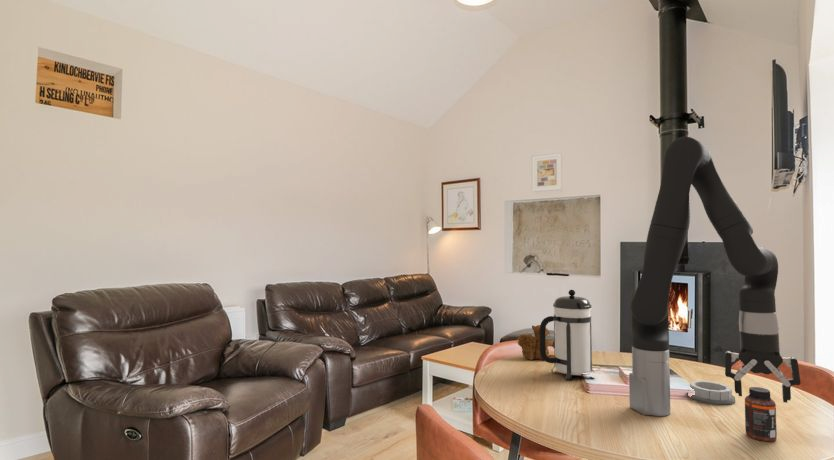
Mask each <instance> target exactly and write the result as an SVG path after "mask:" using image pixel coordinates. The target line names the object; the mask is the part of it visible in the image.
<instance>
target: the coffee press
mask: <svg viewBox="0 0 834 460" xmlns="http://www.w3.org/2000/svg"><path fill="white" fill-rule="evenodd" d="M567 293H568V295H569V296H560V297H557V298H556V299H555V300H554V303H553V304H552V306H553V309H554V311H553V313H554V314H553V316H552V315H550V316H547V317H545V318H543V319H542V321H541V323H540V324H539V325H540V333H539V339H540V355H541V357H542V359H543V360H542V361H544V362H546V363H548V364H554V366H553V367H552V369H550V371H551V373H552V374H556V373H557V372H559V373H561V374H564V375H566V376H565V379H566V381H568V380H569V381H568V382H571V381H572V377H573V376H582V375H581V374H582V373H586V372H590V371H591V372H592V371H593V372H594V370H593V351H592V350H593V348H592V347H593V345H592V344H593V343H592V334H593V333H592V315H591V313H592V312H593V309H592V304H591V303H590V301H589V300H588V299H587V298H585V297H582V296H575V294H576V291H575V290H574V289H569V290H568V292H567ZM551 322H553V331H554V332H553V333H554V334H553V335H554V336H553V337H554V338H553V345H554V346H553V347H554V349H553V350H554V354H553V355H555V358H548V357H547V355H546V347H545V339H546V337H545V329H546V328H547V325H548V324H549V323H551ZM554 368H555V369H556V371H554ZM591 372H590V373H591Z"/></svg>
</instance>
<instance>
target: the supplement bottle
mask: <svg viewBox="0 0 834 460" xmlns="http://www.w3.org/2000/svg"><path fill="white" fill-rule="evenodd" d="M748 390H749V391H748V393H749V395H747V396H745V397H744V422H745V423H744V425H745V427H744V428H745V434H746V435H747V436H748V437H750V438H752V439H753V440H756V441H760V442H761V441H762V442H775V441H776V440H777V437H778V435H777V434H778V432H777V431H778V430H777V411H776V410H777V408H776V407H777V406H776V405H777V404H776V402H775V400H774V399H772V398H771V391H770V390H769V389H767V388H766V387H765V388H764V387H758V386H751V387H749V389H748Z"/></svg>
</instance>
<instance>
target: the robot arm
mask: <svg viewBox="0 0 834 460" xmlns="http://www.w3.org/2000/svg"><path fill="white" fill-rule="evenodd" d="M662 164H663V165H662V172H661V179H660V180H661V181H660V186H659V187H660V188H659V191H658V194H657V197H656V201H655V205H654V210H653V214H652V217H651V221H650V224H649V228H648V233H647V237H646V242H645V249H644V257H643V266H642V272H641V275H640V279H639V281H638V285H637V287H636V290H635V293H634V294H633V297H632V299H631V300H630V311H631V363H632V364H631V367H632V369H631V370H632V372H629V374H628V376H629V377H628V381H629V382H628V385H629V386H628V387H629V388H628V389H629V391H628V392H629V408H631V409H632V410H634V411H636V412H638V413H640V414H641V415H644V416H645V415H646V416H653V417H654V416H655V417H665V416H669V415H670V414H671V380H670V379H671V378H670V377H671V376H670V375H671V370H670V332H669V331H670V330H669V328H670V327H669V326H670V325H669V323H670V321H669V319H670V318H669V301H670V292H671V286H672V281H673V277H674V275H675V272H676V270H677V267H678V264H679V262H680V260H681V257H682V254H683V251H684V247H685V245H686V240H687V237H688V233H689V228H690V223H691V222H690V220H691V213H690V212H691V209H690V191H691V187H692V186H693V188H694V190H695V191H696V193H697V194H698V196H699V198H700V200H701V203H702V206H703V209H704V212H705V213H706V216H707V218H708V220H709V222H710V223H711V225H712V227H713V228H714V230H715V231H716V233H717V235H718V236H719V238H720V239H721V241H722V243H723V248H724V250H725V253H726V256H727V258H728V261H729V263H730V265H731V266H732V268H733V270H735V271H736V272H737V273H739V274H740V275H741V276H744V285H743V286H742V287H741V288H740V289H739V291H738V304H739V305H738V306H739V315H738V328H739V329H738V330H739V345H740V346H739V348H740V350H739V353H738V352H731V351H730V350H726V351H725V361H724V362H725V363H724V365H725V369H724V375H725V376H726V377H727V378H731V379H732V380H733V381H734V392H735V394H738V397H743V390H742V389H743V387H742V378H743V377H744V376H746V375H747V374H748V373H749V372H752V374H764V375H771V374H773V375H774V376H775V377H776V378H777V379H778V380H779V381H780V382H781V383H782V384H781V392H782V402H783V403H786V404H787V403H788V401H791V400H792V399H791V398H792V393H791V392H792V391H791V387H792V386H800V385H801V376H800V375H801V374H800V369H799V363H798V362H799V361H798V360H797V357H795V356H790V357H783V356H782V355H781V353H780V351H781V350H780V349H781V348H780V336H779V330H780V329H779V322H778V320H779V319H778V317H777V309H776V308H777V307H776V296H775V293H776V292H775V291H776V289H777V288H776V287H777V282H778V276H779V262H778V258H777V256H776V254H775V253H774V252H773V251H772V250H771V249H769V248H767V247H764V246H763V247H762V246H757V244H756V242H755V241H754V238H753V233H754V229H753V226H752V225H751V223H750V221H749V220H748V218H747V217H746V216H745V213H744V212H743V210H742V209H741V208H740V206H739V204H738V203H737V202H736V200H735V199H734V198H733V196H732V195H731V193H730V192H729V191H728V189H727V188H726V186H725V184H724V182H723V181H722V178H721V177H720V175H719V173H718V170H717V168H716V165H715V163H714V161H713V157H712V156H711V152H710V150H709V149H708V147H707V146H706V145H705V144H703V143H702V142H701V141H699V140H697V139H696V138H693V137H691V136H680V137H677V138H676V139H674V140H673V141H672V142H671V143H670V144H669V145H668V146H667V149H666V150H665V152H664V157H663V163H662ZM736 359H739V361H740V362H741V363H742V365H741V366H740V367H739V369H738V370H737V371H736V372H734V371H732V363H733V362H735V361H736ZM783 363H785V364H786V366H787V367H788V368H790V372H791V378H787V376H786V375H785V374H784V373H783V372H782V371H781V370H780V368H779V367H780V366H781V365H783Z"/></svg>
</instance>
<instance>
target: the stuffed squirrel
mask: <svg viewBox="0 0 834 460" xmlns="http://www.w3.org/2000/svg"><path fill="white" fill-rule="evenodd" d="M540 325H541V324H537V325H531V329H532V331H533V334H534V335H532V334H531V333H525V334H524V333H523V334H520V336H519V337H518V338H516V340H517V345H518V346H519V347H520V348H521V350H522V351H521V353H522V356H523V357H524V358H525V359H526V360H529V359H530V361H533V359H534V360H537V359H539V360H538V361H544V360H543V359H542V357H541V355H540V339H539V333H540ZM548 335H549V336H552V334H551V333H550V331H549V330H548V328H547V327H546V329H545V347H546V355H547V357H548V358H555V355H554V354H550V353H549V348H548V347H552V346H553V345H554V340H551V339H550V340H548V339H546V338H547V337H548Z"/></svg>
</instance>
